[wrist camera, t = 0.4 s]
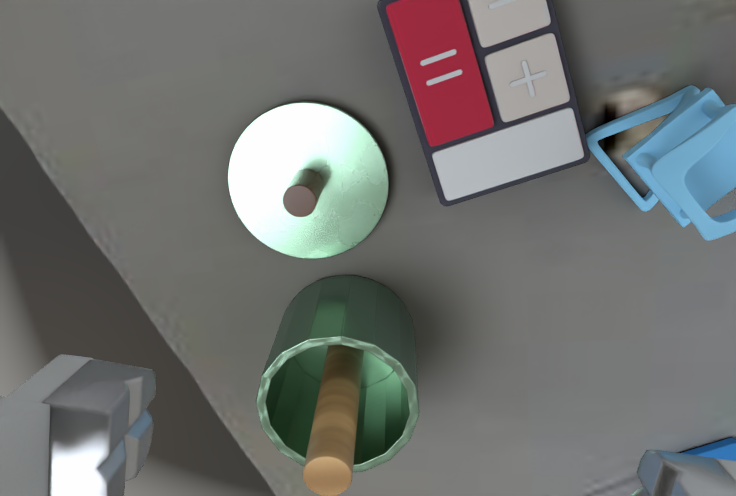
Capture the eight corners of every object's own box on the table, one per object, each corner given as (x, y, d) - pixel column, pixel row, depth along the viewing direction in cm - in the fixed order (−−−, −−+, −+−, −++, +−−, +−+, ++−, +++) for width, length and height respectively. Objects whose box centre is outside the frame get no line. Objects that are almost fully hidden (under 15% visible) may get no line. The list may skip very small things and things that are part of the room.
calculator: (540, -63, 40) (595, 163, 44) (527, -53, 44) (579, 152, 48) (374, 0, 42) (442, 211, 46) (377, 3, 46) (439, 197, 50)
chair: (733, 137, 48) (837, 180, 36) (640, 210, 50) (710, 271, 39) (673, 59, 46) (763, 78, 35) (579, 138, 48) (634, 180, 37)
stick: (327, 324, 54) (298, 458, 38) (362, 321, 54) (348, 454, 38) (332, 355, 55) (307, 498, 39) (367, 352, 55) (355, 494, 39)
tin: (270, 282, 53) (242, 345, 44) (406, 268, 52) (408, 329, 43) (294, 397, 57) (273, 478, 48) (420, 386, 56) (425, 467, 47)
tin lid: (216, 111, 48) (193, 124, 43) (378, 89, 47) (375, 101, 42) (248, 261, 53) (231, 290, 48) (397, 245, 52) (397, 272, 46)
